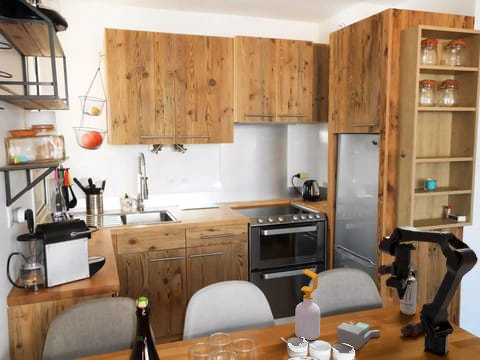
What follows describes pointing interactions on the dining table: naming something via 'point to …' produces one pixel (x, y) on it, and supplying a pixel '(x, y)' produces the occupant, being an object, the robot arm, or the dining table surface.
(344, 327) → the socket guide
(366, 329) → the mint green brick
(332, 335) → the dining table surface
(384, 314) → the dining table surface
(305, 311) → the soap bottle
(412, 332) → the bolt
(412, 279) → the energy drink can
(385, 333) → the dining table surface
